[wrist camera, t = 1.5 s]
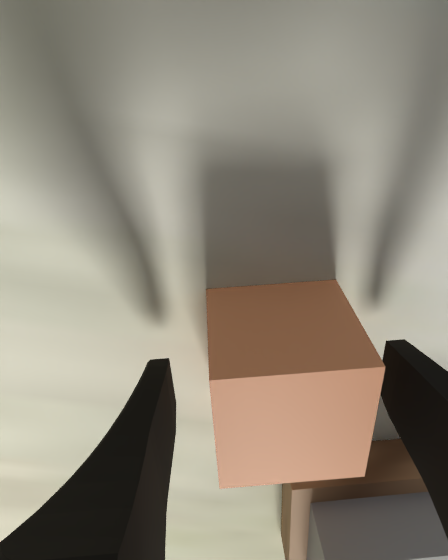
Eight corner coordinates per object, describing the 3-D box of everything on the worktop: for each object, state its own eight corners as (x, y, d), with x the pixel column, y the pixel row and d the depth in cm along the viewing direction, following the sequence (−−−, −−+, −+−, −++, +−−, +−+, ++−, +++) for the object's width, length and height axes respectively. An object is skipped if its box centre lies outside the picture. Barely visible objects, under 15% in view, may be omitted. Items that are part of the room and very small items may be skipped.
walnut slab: (430, 426, 19) (460, 474, 17) (406, 513, 23) (428, 562, 21) (281, 439, 19) (291, 490, 17) (279, 525, 23) (288, 576, 21)
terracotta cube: (335, 278, 14) (385, 366, 11) (326, 374, 17) (364, 476, 13) (206, 288, 14) (209, 380, 10) (214, 383, 17) (219, 488, 13)
